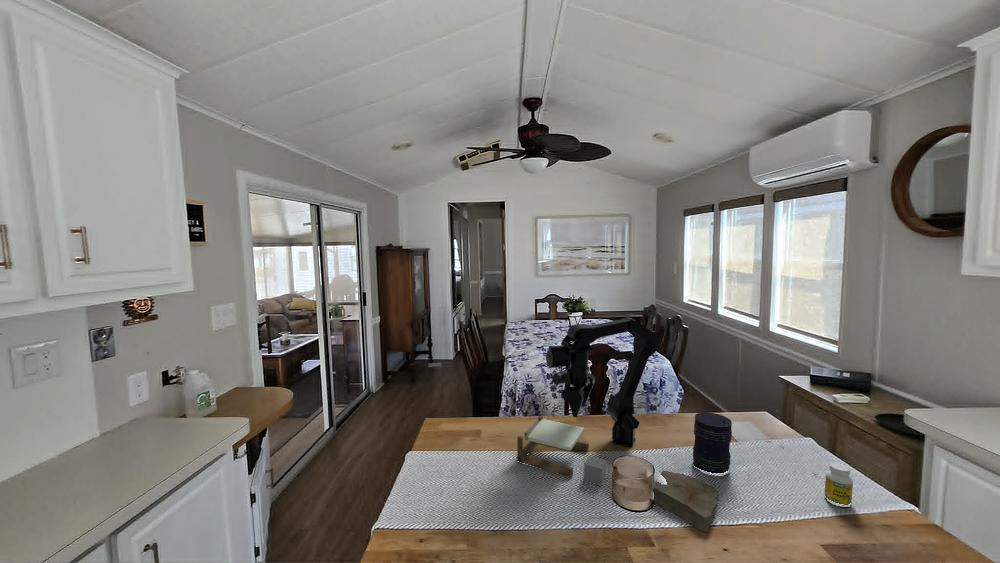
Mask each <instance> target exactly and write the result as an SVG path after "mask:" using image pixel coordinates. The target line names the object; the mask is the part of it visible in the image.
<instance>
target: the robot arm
mask: <svg viewBox="0 0 1000 563" xmlns="http://www.w3.org/2000/svg"><path fill="white" fill-rule="evenodd" d="M624 333H629V335H631V336H633V341H632V342H633V343H632V345H633V354H632V357H631V359H630V362H629V364H628V367H627V370H626V372H625V376H624V377H623V380H622V382H621V386H620V388H619V391H618V392H617V393H616V394H612V393H611V394H610V395H609V398H608V401H607V403H606V411H607V413H608V415H609V416H610V417H611V420H612V421H614V423H613V426H612V428H611V429H612V430H611V433H612V434H611V435H612V436H611V437H612V442H611V443H612V444H616V445H619V446H625V447H629V448H633V447H634V444H635V442H636V437H635V434H636V430H635V429H639V426H640V421H639V420H638V419H637V418H636V417H635V416H634V415H633V414H634V410H635V403H634V397H635V395H636V393H637V389H638V387H639V384H640V381H641V379H642V376H643V374H644V371H645V369H646V367H647V364H648V361H649V358H650V357H652V356H653V355H654V354H656V352H657V351H658V349H659V347H660V345H661V343H662V338H661V336H660V334H659V333H658V332H657V331H655V330H651V329H649V328H647V327H646V326H644V325H643V324H641V323H640V322H639V321H638V320H636V319H635V318H631V317H629V316H627V317H624V318H621V319H617V320H612V321H605V322H602V323H597V324H584V323H583V324H573V325H571V326H569V328H568V330H567V333H566V335H565V336H564V338H563V340H562V341H561V342H560V345H549V346H548V349H547V351H546V354H545V361H546V364H547V367H548V368H549V369H553V368H555V369H556V368H562V367H563V368H564V367H568V366H569V367H568V368H567V369H565V370H560V371H557V372H554V373H553V374H552V375H551V382H552V383H554V386H559V385H561V384H566V385H567V386H566V387H564V389H562V390H561V392H560V393H561V396H560V398H561V399H563V401H567V403H568V405H569V407H570V411H571V414H572V417H573V418H578V414H579V412H580V410H581V408H582V407H585V406H586V403H587V402H588V399H589V396H590V395H591V392H592V390H593V387H594V384H595V383H596V376H595V375H594V374H593V373H589V371H590V366H589V352H594V351H595V348H594V347H593V346H592V345H591V344H592V343H594V342H595V341H597V340H599V339H601V338H605V337H611V336H614V335H619V334H624Z"/></svg>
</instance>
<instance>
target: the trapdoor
mask: <svg viewBox="0 0 1000 563" xmlns="http://www.w3.org/2000/svg"><path fill="white" fill-rule="evenodd" d="M584 433H585V427H583V426H582V427H581V426H576V425H573V424H567V423H564V422H558V421H555V420H549V419H546V418H543V419H542V420H541V421H539V420H538V419H537V420H535V422H533V424H531V426H530V427H529V428H528V429H526V431H525V432H524V440H525V441H528V442H530V441H533V442H537V443H539V444H543V445H545V446H549V447H553V448H557V449H561V450H566V451H572V450H573V449H574V448H573V447H574V445H575V444H576V442H577V441H578V440H579V439H580V438H581V437H582V435H583V434H584Z"/></svg>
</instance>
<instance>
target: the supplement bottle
mask: <svg viewBox="0 0 1000 563" xmlns="http://www.w3.org/2000/svg"><path fill="white" fill-rule="evenodd" d="M850 475H851V469H850V467H849V466H847V465H845V464H841V463H838V462H830V464H829V470H827V471H826V472H825V480H824V481H825V482H824V495H825V496H826V498H828V499H829V500H831V501H833V502H835V503H839V504H844V505H848V504H850V503H851V504H852V499H853V486H854V479H853V478H852V477H851V476H850Z"/></svg>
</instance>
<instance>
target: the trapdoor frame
mask: <svg viewBox="0 0 1000 563" xmlns="http://www.w3.org/2000/svg"><path fill="white" fill-rule="evenodd" d="M542 419H544V418H543V416H542V415H538V417H537V420H539V421H541V420H542ZM523 440H524V439H523V436H522V435H518V436H517V442H516V443H517V444H516V445H517V446H516V447H517V451H516V452H517V454H516V455H517V456H516V457H517V460H516V461H519V462H521V463H525V464H528V465H531V466H534V467H533V468H535V467H538V468H537V469H539V468H541V469H540V470H542V469H544V470H543V471H546V470H547V471H546V472H549V471H551V472H550V473H553V472H554V473H553V474H556V473H558V474H557V475H560V474H561V476H563V475H564V477H567V476H569V477H568V478H571V477H572V478H573V476H574V467H573V466H569V465H565V464H563V463H558V462H554V461H550V460H547V459H543V458H539V457H536V456H532V455H530V454H531V453H532V452H533V450H535V448H536V447H538V445H539V444H540V443H537V442H533V441H528V443H527V444H526V445H525V446H524V445H523V444H524V443H523V442H524V441H523ZM523 446H524V447H523ZM589 446H590V445H589V442H587V441H582V440H579V439H578V441H577V442H576V444H575V445H574V447H573V448H572V449H574V450H578V451H583V452H585V453H587V452H589V450H590V448H589ZM531 451H532V452H531ZM530 452H531V453H530ZM528 453H530V454H529V455H527V454H528ZM521 463H520V464H521ZM528 465H527V466H528ZM531 466H530V467H531Z"/></svg>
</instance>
